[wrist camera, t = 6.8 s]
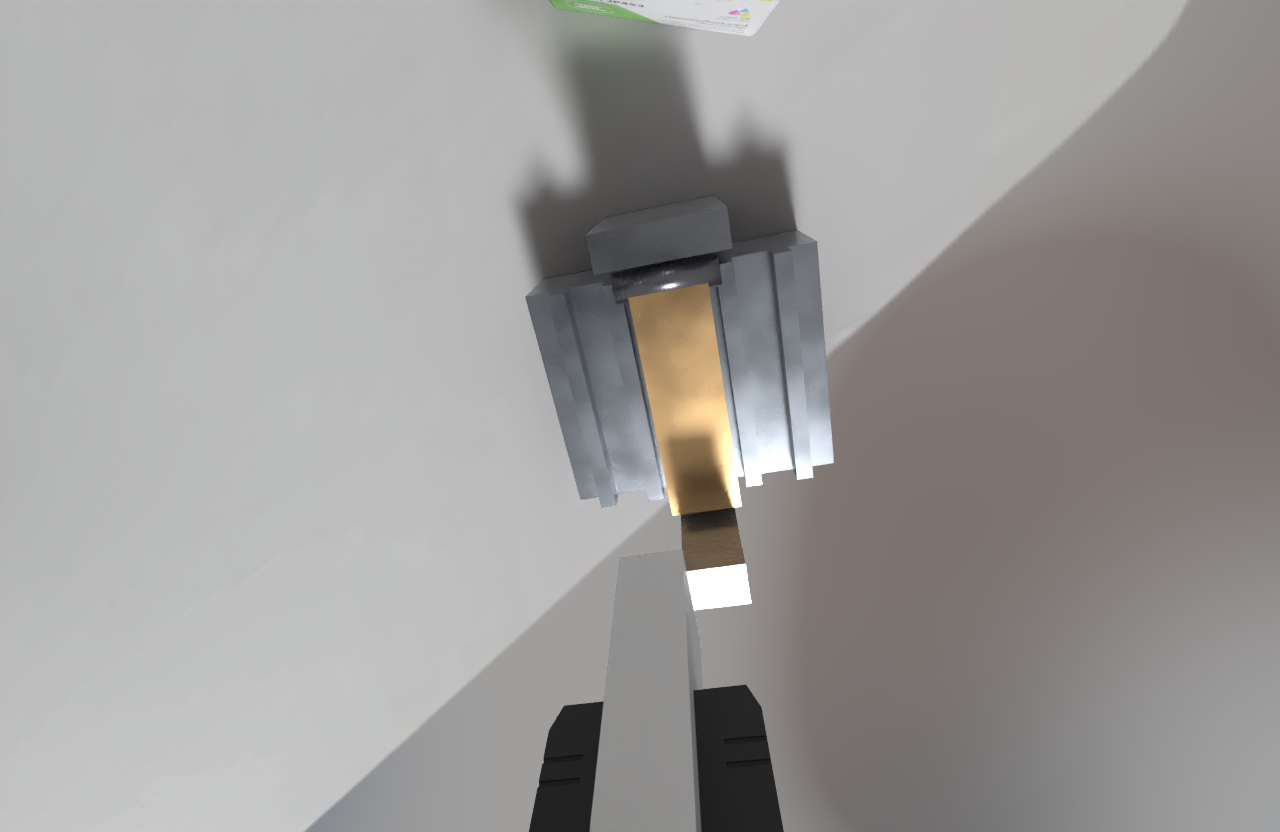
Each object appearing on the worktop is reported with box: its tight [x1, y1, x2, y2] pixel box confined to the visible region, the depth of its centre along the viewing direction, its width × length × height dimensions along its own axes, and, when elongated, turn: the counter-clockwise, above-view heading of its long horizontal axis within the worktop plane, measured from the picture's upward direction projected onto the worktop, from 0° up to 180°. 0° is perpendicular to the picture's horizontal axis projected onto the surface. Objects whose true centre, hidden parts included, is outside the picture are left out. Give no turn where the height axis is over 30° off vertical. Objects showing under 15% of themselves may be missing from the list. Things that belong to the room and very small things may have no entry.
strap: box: [611, 253, 742, 516], centre depth 24 cm, size 4×11×1 cm, turn 11°
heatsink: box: [526, 195, 834, 610], centre depth 24 cm, size 12×14×11 cm
